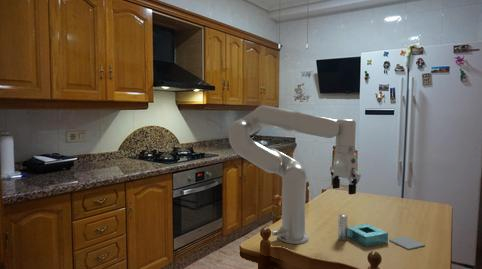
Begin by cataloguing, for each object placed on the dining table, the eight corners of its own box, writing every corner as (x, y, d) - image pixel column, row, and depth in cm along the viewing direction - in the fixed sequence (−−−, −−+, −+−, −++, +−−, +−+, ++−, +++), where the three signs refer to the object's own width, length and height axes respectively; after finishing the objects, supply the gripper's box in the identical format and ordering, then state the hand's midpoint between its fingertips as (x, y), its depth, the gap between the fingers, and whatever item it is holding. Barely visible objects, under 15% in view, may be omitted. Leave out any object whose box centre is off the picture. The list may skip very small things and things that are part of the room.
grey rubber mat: (408, 249, 118) (408, 248, 118) (389, 240, 126) (389, 239, 126) (425, 245, 121) (425, 244, 121) (405, 237, 129) (405, 236, 129)
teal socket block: (366, 247, 120) (366, 237, 120) (346, 236, 131) (346, 227, 130) (387, 242, 124) (388, 232, 124) (367, 232, 135) (367, 223, 135)
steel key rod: (341, 241, 126) (342, 217, 125) (336, 238, 129) (336, 214, 128) (348, 240, 127) (349, 216, 126) (343, 236, 130) (343, 213, 130)
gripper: (368, 151, 118) (366, 195, 120) (338, 146, 134) (337, 185, 136) (352, 152, 116) (351, 197, 117) (324, 147, 132) (323, 187, 133)
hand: (343, 191), depth 126 cm, fingers open, 9 cm apart
